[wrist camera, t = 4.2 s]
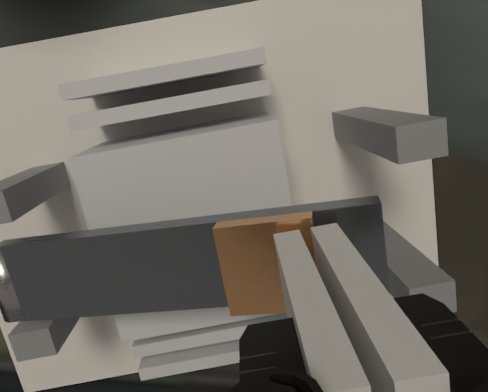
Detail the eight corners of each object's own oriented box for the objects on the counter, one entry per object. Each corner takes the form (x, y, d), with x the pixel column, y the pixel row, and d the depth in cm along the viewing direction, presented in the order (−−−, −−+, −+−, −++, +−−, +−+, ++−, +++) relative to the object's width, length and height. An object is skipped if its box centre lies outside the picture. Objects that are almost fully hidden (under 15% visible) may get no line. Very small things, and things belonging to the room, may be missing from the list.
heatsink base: (32, 381, 25) (-70, 538, 16) (-81, 66, 20) (-308, 51, 12) (433, 307, 25) (545, 425, 16) (410, -24, 20) (548, -106, 12)
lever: (19, 308, 17) (-10, 332, 15) (-5, 239, 16) (-39, 256, 15) (385, 280, 14) (393, 305, 13) (377, 193, 13) (384, 209, 12)
